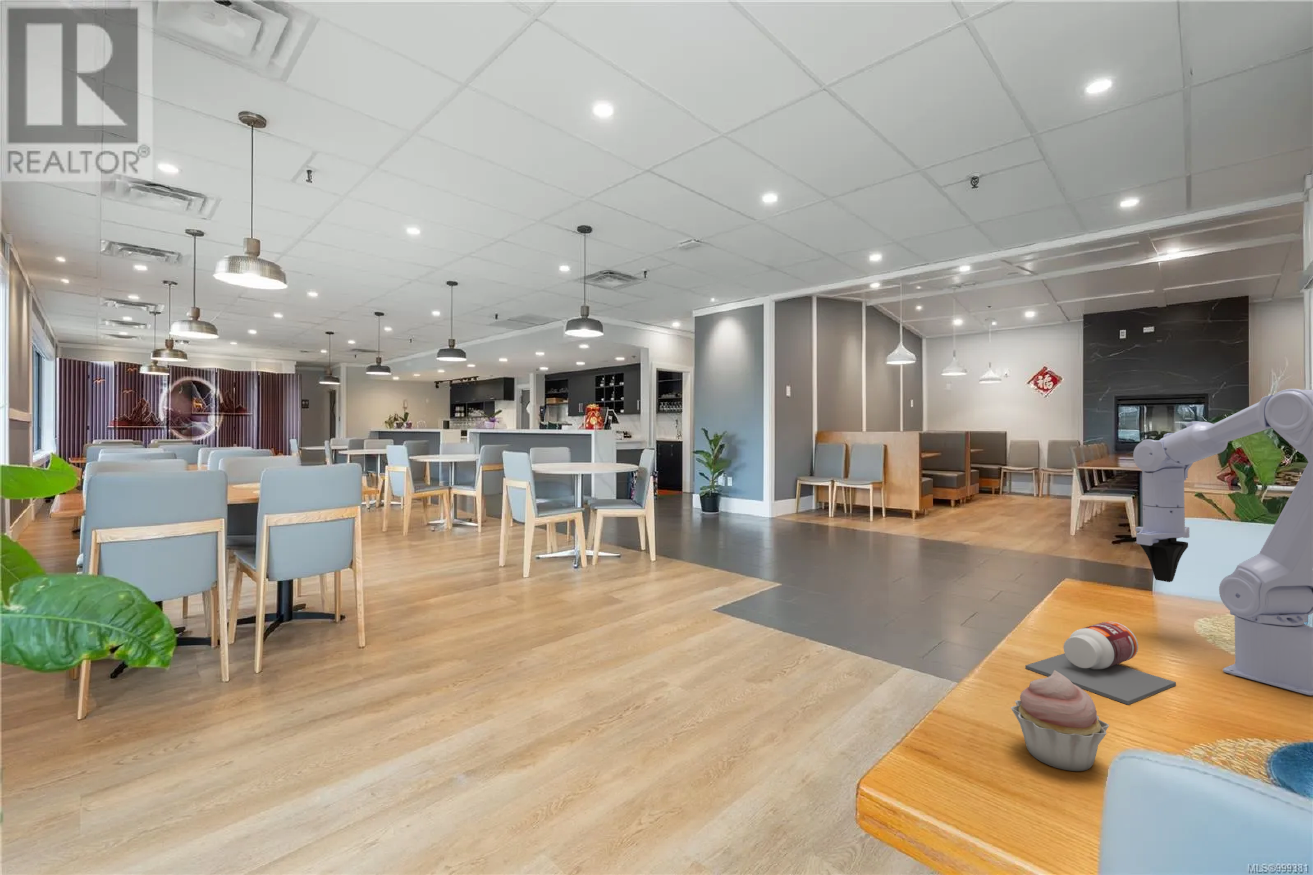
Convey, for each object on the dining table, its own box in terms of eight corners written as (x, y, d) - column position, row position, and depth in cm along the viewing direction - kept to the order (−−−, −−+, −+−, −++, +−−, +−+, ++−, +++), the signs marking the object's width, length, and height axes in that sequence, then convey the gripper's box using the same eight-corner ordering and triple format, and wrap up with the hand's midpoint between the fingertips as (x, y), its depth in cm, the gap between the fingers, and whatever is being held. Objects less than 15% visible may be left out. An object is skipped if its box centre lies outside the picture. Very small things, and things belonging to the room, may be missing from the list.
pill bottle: (1133, 621, 91) (1096, 633, 86) (1145, 661, 90) (1108, 676, 85) (1090, 619, 97) (1053, 630, 92) (1101, 658, 96) (1064, 671, 91)
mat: (1175, 685, 85) (1175, 682, 85) (1128, 704, 79) (1128, 701, 79) (1072, 653, 97) (1072, 650, 97) (1025, 668, 92) (1025, 665, 92)
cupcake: (1067, 734, 72) (1065, 654, 72) (1131, 778, 62) (1130, 687, 62) (994, 737, 72) (993, 657, 71) (1048, 782, 62) (1046, 690, 62)
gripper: (1156, 500, 111) (1157, 570, 111) (1116, 506, 104) (1117, 580, 104) (1203, 504, 104) (1204, 578, 105) (1164, 510, 98) (1165, 590, 98)
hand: (1164, 580), depth 104 cm, fingers closed
